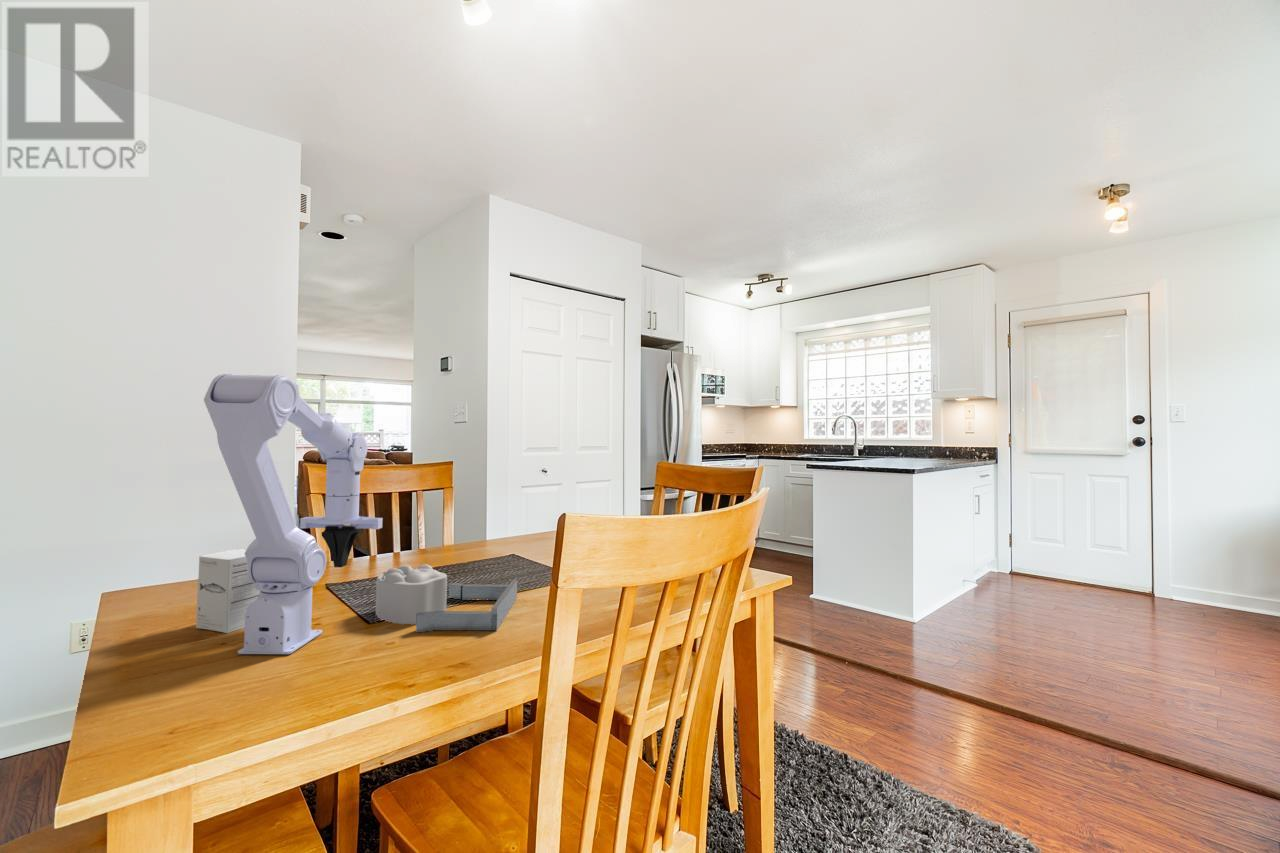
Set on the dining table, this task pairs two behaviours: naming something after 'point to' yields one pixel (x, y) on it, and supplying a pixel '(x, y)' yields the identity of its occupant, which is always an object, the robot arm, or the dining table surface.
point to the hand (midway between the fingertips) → (340, 566)
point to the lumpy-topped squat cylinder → (410, 593)
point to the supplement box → (224, 591)
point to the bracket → (471, 618)
